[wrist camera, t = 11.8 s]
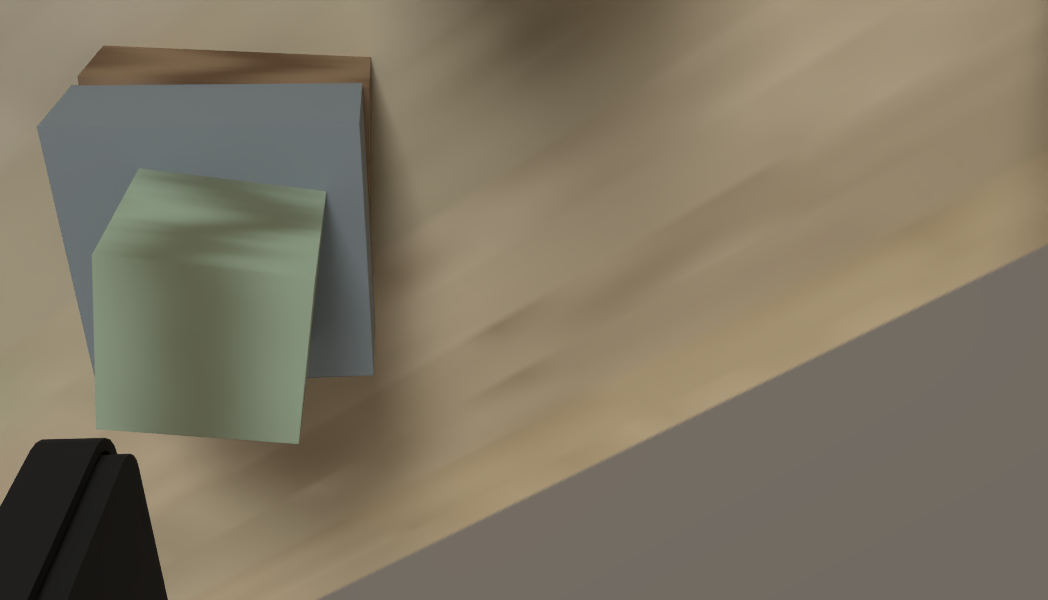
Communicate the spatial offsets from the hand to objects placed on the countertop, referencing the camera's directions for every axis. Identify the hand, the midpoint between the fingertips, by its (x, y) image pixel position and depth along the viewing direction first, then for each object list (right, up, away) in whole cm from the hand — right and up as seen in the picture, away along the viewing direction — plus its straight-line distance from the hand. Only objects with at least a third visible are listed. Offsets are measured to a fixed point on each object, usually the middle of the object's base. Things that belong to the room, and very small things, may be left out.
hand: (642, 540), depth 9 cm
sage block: (-11, +4, +25) cm, 28 cm away
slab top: (-12, +6, +28) cm, 31 cm away
